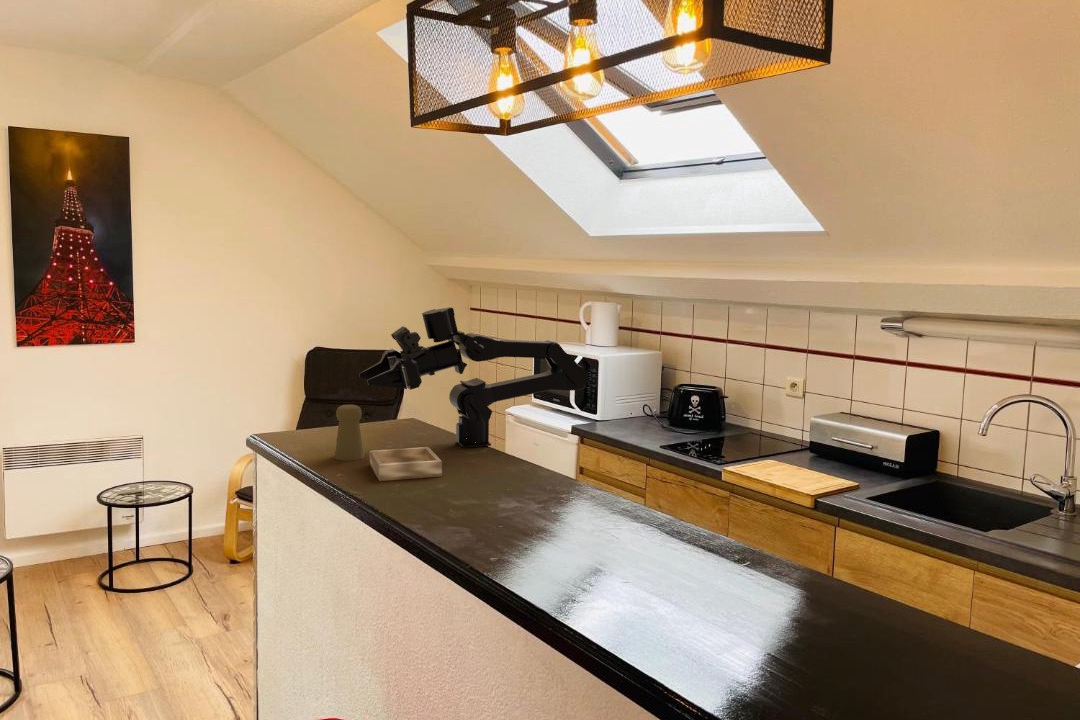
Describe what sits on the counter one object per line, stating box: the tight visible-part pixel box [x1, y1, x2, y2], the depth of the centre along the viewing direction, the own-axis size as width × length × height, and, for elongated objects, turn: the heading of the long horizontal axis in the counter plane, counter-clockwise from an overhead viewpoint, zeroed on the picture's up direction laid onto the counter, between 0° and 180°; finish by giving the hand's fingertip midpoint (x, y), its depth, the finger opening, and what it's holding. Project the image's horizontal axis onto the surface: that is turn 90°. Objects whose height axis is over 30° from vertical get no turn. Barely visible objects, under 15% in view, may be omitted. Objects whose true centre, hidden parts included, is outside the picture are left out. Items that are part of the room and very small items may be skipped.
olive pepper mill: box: [334, 404, 365, 462], centre depth 175 cm, size 6×6×11 cm
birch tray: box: [369, 446, 443, 482], centre depth 166 cm, size 12×12×3 cm
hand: (363, 379), depth 178 cm, fingers open, 9 cm apart
